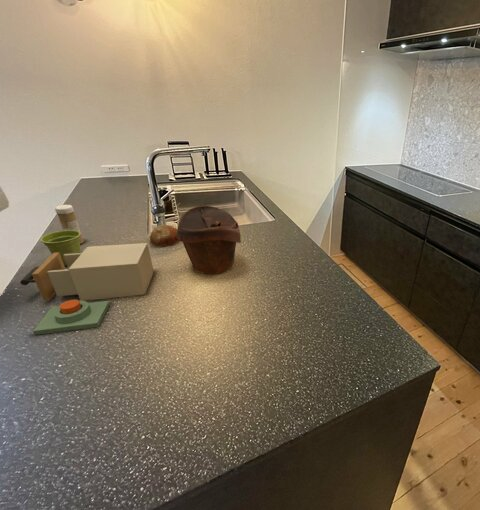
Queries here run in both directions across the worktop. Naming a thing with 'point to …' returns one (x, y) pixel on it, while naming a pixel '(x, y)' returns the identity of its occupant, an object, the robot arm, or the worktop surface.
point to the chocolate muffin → (209, 238)
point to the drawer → (53, 276)
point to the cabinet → (112, 271)
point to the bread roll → (164, 236)
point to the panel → (72, 318)
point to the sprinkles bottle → (68, 219)
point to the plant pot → (63, 242)
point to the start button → (70, 306)
